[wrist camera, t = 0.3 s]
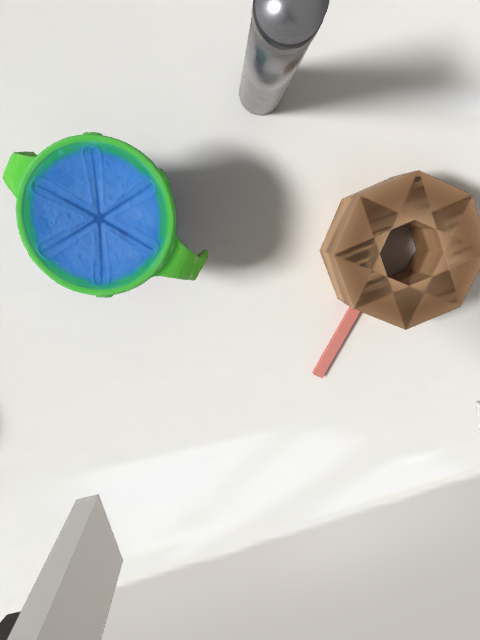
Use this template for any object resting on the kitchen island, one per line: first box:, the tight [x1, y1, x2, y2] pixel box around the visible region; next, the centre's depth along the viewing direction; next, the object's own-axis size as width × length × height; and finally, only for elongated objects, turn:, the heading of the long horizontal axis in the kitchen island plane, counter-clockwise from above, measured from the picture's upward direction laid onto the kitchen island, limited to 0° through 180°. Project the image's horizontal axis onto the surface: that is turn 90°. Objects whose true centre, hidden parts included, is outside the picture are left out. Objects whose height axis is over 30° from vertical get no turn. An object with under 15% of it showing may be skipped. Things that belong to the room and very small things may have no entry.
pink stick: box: [313, 307, 360, 378], centre depth 41 cm, size 12×1×1 cm, turn 153°
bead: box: [320, 170, 480, 330], centre depth 37 cm, size 12×12×5 cm
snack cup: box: [3, 132, 208, 298], centre depth 33 cm, size 16×10×10 cm
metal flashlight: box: [239, 0, 329, 115], centre depth 28 cm, size 4×4×16 cm
